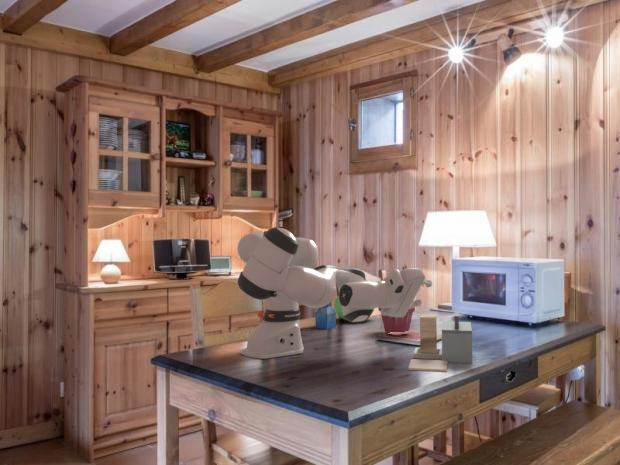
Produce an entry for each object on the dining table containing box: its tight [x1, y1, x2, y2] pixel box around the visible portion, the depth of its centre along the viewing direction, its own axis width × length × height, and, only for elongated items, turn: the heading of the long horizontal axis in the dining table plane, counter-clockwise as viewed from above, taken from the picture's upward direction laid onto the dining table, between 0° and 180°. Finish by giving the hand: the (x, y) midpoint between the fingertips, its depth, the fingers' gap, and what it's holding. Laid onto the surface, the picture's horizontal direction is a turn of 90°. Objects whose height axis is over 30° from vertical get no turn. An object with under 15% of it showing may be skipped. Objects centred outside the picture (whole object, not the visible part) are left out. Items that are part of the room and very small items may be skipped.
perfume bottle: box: [315, 301, 337, 330], centre depth 238 cm, size 6×6×12 cm
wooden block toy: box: [413, 310, 473, 364], centre depth 182 cm, size 16×18×14 cm
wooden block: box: [419, 314, 438, 354], centre depth 184 cm, size 5×5×13 cm
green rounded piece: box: [333, 295, 375, 321], centre depth 253 cm, size 18×17×15 cm
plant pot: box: [378, 300, 416, 334], centre depth 222 cm, size 14×14×13 cm
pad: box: [408, 358, 448, 373], centre depth 170 cm, size 11×11×1 cm
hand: (425, 293), depth 187 cm, fingers open, 8 cm apart
